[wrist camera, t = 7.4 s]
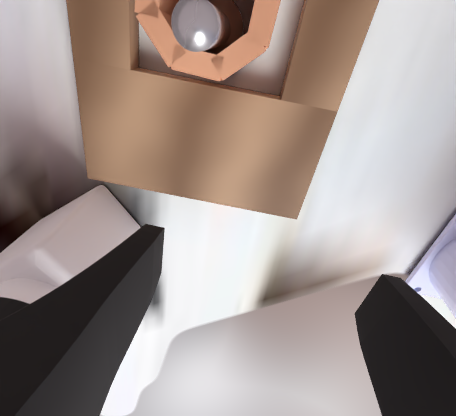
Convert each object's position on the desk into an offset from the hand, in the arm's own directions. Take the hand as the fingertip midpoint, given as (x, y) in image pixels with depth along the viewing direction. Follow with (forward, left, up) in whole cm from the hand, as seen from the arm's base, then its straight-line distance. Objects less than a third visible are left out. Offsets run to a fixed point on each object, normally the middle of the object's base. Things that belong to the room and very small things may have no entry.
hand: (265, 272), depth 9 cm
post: (+4, -7, -10) cm, 12 cm away
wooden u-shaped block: (+4, -3, -10) cm, 11 cm away
